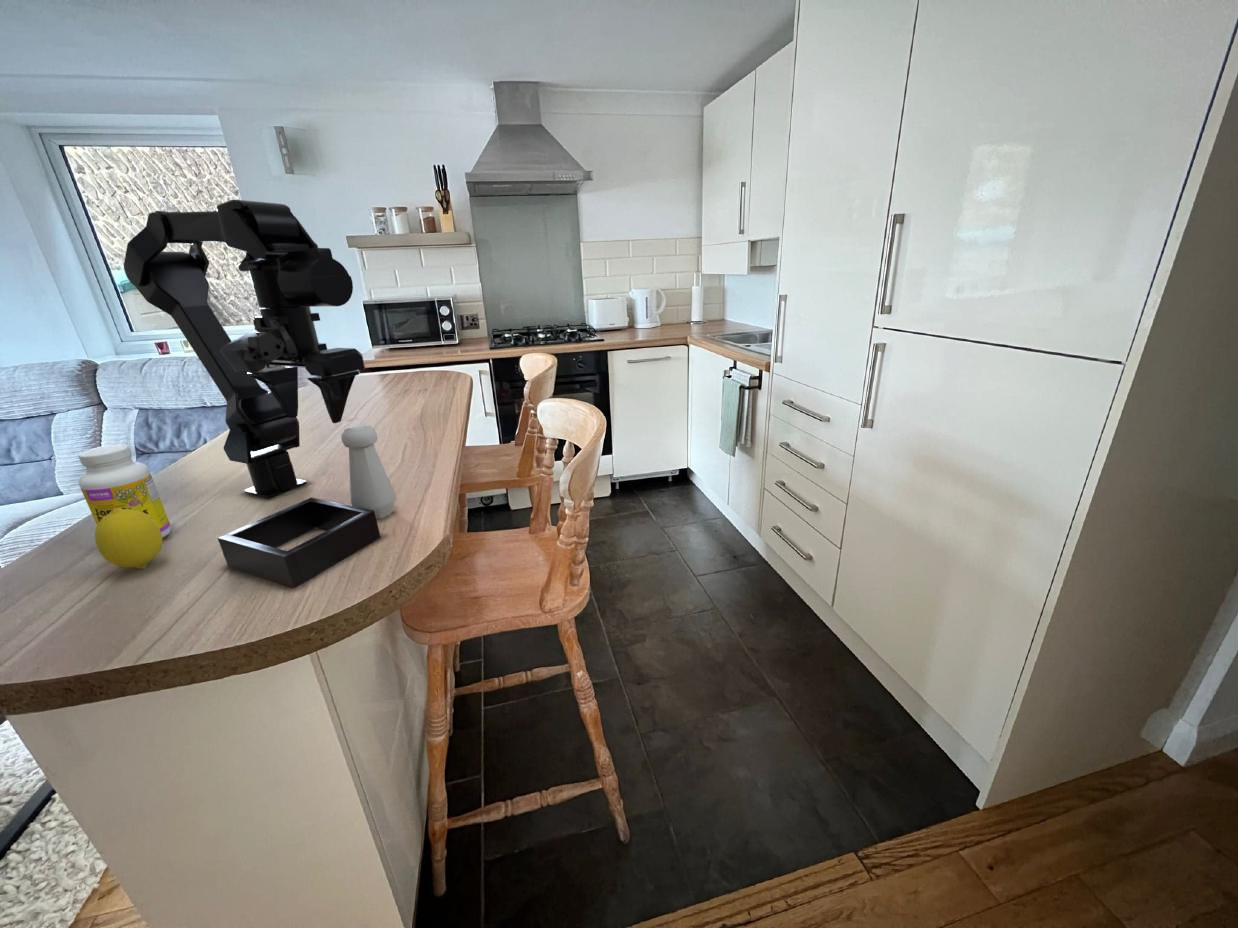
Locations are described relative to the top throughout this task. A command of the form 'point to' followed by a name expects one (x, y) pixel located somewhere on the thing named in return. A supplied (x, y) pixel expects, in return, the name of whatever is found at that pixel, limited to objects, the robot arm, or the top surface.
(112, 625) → the top surface
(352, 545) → the black rectangular open frame
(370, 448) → the salt shaker
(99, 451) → the supplement bottle
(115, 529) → the lemon
